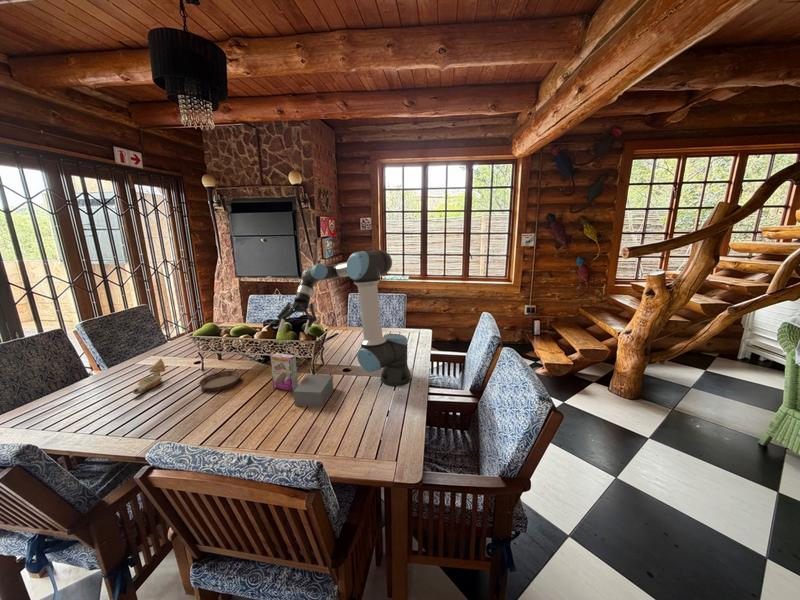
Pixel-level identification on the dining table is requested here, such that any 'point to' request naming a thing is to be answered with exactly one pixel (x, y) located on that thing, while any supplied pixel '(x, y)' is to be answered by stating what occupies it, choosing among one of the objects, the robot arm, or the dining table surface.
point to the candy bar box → (284, 371)
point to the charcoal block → (313, 390)
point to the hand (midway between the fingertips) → (292, 332)
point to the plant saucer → (219, 380)
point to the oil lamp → (151, 378)
